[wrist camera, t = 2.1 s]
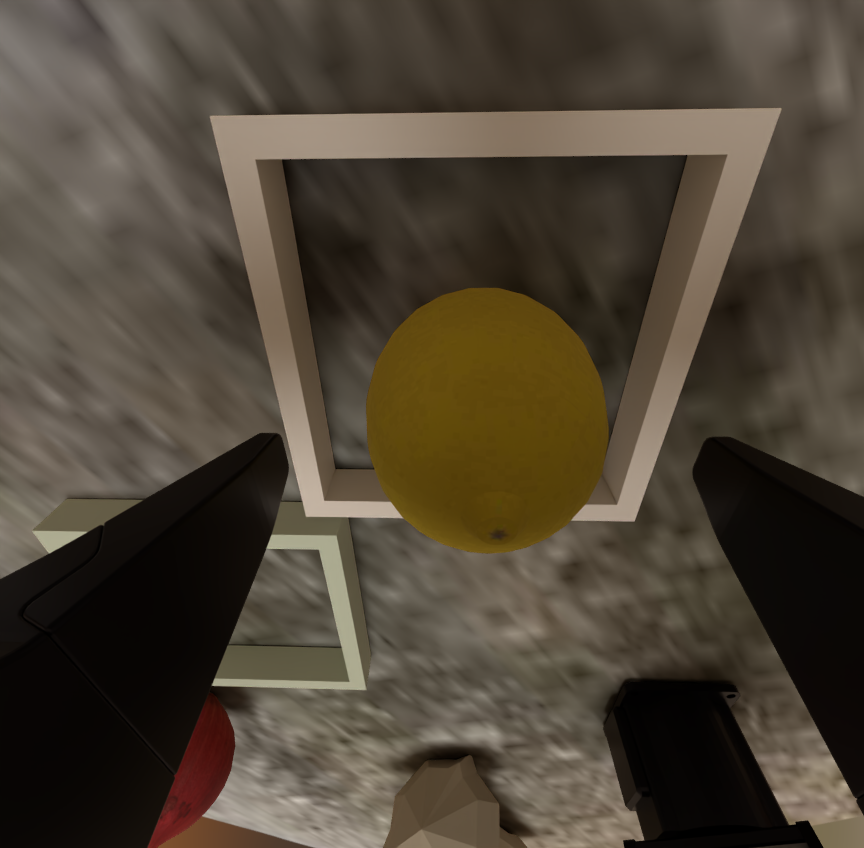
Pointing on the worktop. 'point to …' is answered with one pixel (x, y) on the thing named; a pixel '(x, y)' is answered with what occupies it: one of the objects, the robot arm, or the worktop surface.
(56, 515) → the bin
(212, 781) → the onion
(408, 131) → the bin
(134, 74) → the worktop surface
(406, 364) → the lemon
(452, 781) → the faceted club
